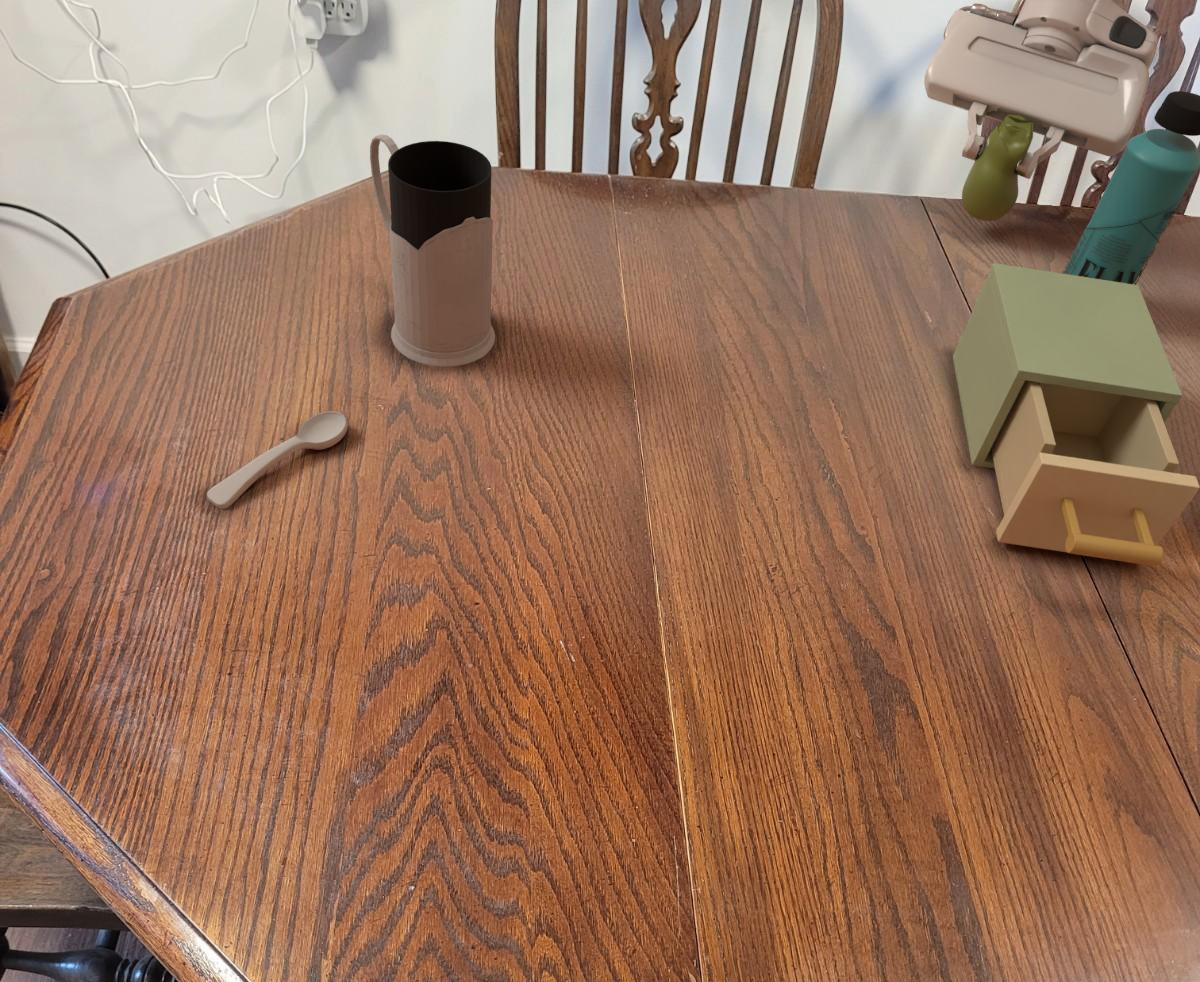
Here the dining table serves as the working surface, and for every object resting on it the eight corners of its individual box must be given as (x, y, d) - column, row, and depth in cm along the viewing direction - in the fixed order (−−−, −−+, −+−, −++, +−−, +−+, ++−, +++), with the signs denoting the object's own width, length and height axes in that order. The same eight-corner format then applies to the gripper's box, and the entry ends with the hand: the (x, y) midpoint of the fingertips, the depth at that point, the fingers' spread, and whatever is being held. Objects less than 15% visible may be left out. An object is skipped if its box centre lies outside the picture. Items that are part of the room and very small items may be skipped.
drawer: (1159, 615, 74) (1220, 538, 68) (1006, 591, 74) (1054, 513, 68) (1107, 445, 86) (1154, 367, 80) (975, 425, 86) (1013, 346, 80)
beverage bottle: (1045, 316, 99) (1150, 103, 84) (1052, 281, 103) (1153, 73, 88) (1114, 336, 98) (1233, 125, 83) (1118, 301, 102) (1233, 94, 87)
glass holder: (427, 382, 84) (421, 208, 72) (337, 294, 90) (319, 121, 79) (516, 348, 88) (524, 177, 76) (424, 265, 94) (418, 97, 83)
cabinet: (1120, 490, 83) (1183, 395, 76) (970, 467, 83) (1019, 370, 76) (1085, 379, 93) (1138, 284, 86) (951, 358, 93) (993, 262, 86)
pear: (957, 197, 108) (995, 100, 101) (1008, 210, 108) (1050, 114, 100) (951, 222, 105) (990, 123, 97) (1003, 236, 104) (1047, 138, 96)
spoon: (359, 435, 78) (355, 416, 77) (230, 524, 73) (223, 505, 71) (332, 417, 80) (327, 397, 78) (203, 503, 74) (196, 483, 72)
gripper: (961, -21, 100) (895, 117, 101) (1176, 42, 94) (1103, 186, 96) (958, 16, 106) (896, 145, 108) (1161, 76, 100) (1092, 212, 102)
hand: (996, 165), depth 102 cm, fingers closed on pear, 4 cm apart
